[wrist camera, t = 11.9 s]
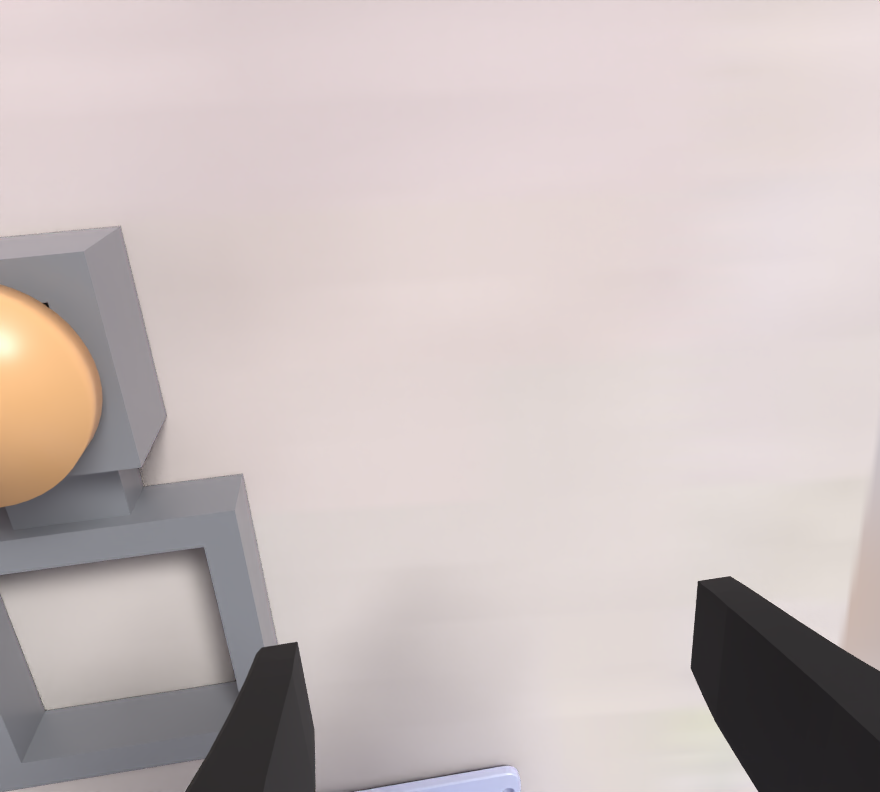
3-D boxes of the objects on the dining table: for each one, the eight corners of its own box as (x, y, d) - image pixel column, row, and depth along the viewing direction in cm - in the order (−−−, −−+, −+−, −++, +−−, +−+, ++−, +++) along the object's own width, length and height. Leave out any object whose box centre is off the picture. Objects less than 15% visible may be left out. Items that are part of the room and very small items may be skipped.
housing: (288, 696, 25) (283, 772, 22) (21, 738, 24) (-18, 823, 21) (190, 219, 18) (166, 243, 16) (-178, 254, 18) (-271, 286, 15)
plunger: (152, 420, 20) (114, 493, 16) (-38, 442, 19) (-119, 522, 16) (106, 240, 18) (52, 278, 14) (-105, 260, 17) (-216, 305, 14)
